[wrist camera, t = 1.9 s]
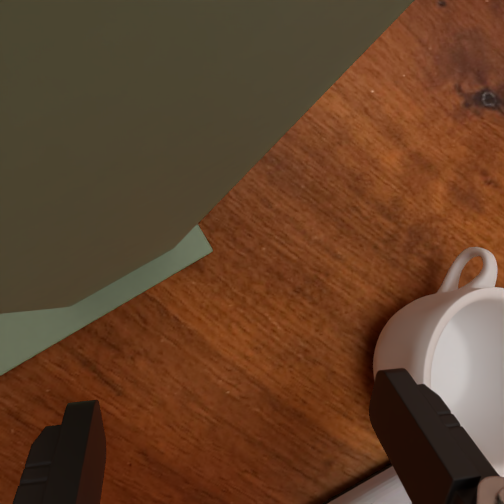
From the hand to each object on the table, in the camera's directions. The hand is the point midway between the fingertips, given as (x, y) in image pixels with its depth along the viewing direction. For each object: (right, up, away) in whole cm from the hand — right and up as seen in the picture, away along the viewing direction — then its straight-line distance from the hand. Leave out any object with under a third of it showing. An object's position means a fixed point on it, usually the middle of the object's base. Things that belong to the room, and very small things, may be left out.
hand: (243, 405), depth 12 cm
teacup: (+9, -1, +11) cm, 14 cm away
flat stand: (-8, +4, +6) cm, 11 cm away
